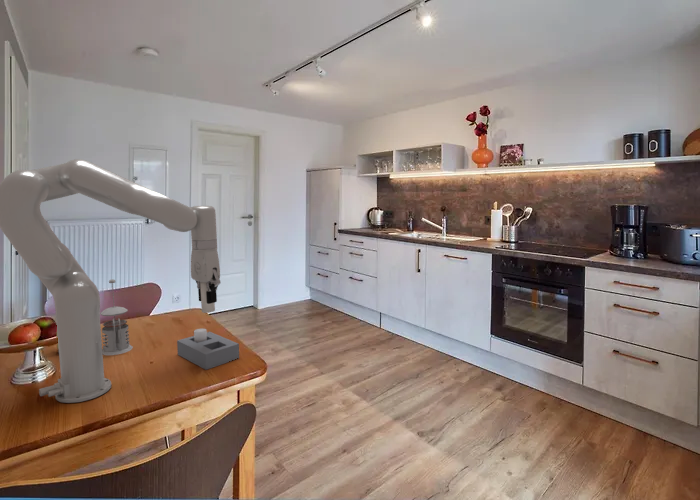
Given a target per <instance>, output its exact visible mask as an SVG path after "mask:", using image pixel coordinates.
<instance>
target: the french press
mask: <svg viewBox="0 0 700 500" xmlns="http://www.w3.org/2000/svg"><path fill="white" fill-rule="evenodd" d="M108 282H109V284H111V287H112V291H114V284H115V283H116V280H115V279H109V281H108ZM114 293H115V292H112V302H113V303H112V305H113V306H111V307H107V308H105V309H104V310H101V311H100V316H103V317H113V318H112V320H109V321H108V320H107V321H105V322H104V323H102V326H103V327H102V328H101V338H102V337H103V338H102V354H103V356H116V355H121V354H122V355H123V354H125V353H128V352H130V351H131V350H133V347H134V346H132V345H131V344H130V337H129V336H130V335H129V332H130V331H129V324H127V322H128V321H127V320H126V319H120V318H119V317H118V319H116V316H120V315H124V314H126V313H127V312H128V311H129V310H128V309H127V308H125V307H122V306H115V297H114V295H115V294H114Z"/></svg>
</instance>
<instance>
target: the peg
mask: <svg viewBox="0 0 700 500" xmlns="http://www.w3.org/2000/svg"><path fill="white" fill-rule="evenodd" d="M211 281H213V280H212V279H211ZM211 284H213V283H210V286H211ZM200 289H201V301H200V304H201V313H204V314H205V313H206V314H207V313H213V312H215V311H216V306H215V305H216V302H214V303H210V304H208V303H207V296H206V291H208V290H207V284H206V283H204V282H200Z"/></svg>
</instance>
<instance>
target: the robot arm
mask: <svg viewBox="0 0 700 500" xmlns="http://www.w3.org/2000/svg"><path fill="white" fill-rule="evenodd" d="M76 194H77V195H78V194H81V195H83V196H85V197H88V198H91V199H93V200H95V201H98V202H99V203H103V204H105V205H108V206H110V207H112V208H114V209H116V210H119V211H122V212H125V213H127V214H131V215H136V216H138V217H139V216H140V217H142V218H146V219H149V220H151V221H154V222H155V223H159V224H161V225H163V226H164V227H165V228H167V229H169V230H172V231H174V232H175V231H176V232H180V233H187V232H190V237H191V255H190V276H191V277H190V278H191V279H192V280H193V281H195V283H196V288H197V292H198V301H199V302H201V289H200V282H204V283H206V284H207V290H208V291H206V296H207V303H208V304H210V303H214V302H215V303H217V301H218V298H217V294H218V293H217V291H218V286H219V285H220V284H221V280H220V279H221V267H220V259H219V254H218V237H217V236H218V234H217V232H218V231H217V215H216V214H217V213H216V209H215V207H214V206H212V205H194V206H187V205H186V204H184V203H181V202H179V201H177V200H174V199H172V198H170V197H168V196H166V195H163V194H162V193H159V192H157V191H154V190H152V189H149V188H147V187H146V186H143V185H141V184H139V183H137V182H134V181H132V180H130V179H127V178H125V177H123V176H121V175H119V174H116V173H114V172H112V171H110V170H108V169H106V168H103V167H102V166H101V165H100V166H99V165H98V164H95V163H93V162H92V161H91V162H90V161H88V160H85V159H80V158H75V159H72V160H69V161H67V162H63V163H61V164H56V165H50V166H47V167H40V168H37V169H19V170H14V171H13V172H10V173H9V174H8V175H6V176H5V177H4V178H3V180H2V181H1V182H0V230H1V231H2V233H3V235H5V237H6V238H7V240H8V241H9V242H10V244H11V245H12V247H13V248H14V249H15V251H16V252H17V253H18V254H19V256H20V257H21V258H22V259H23V261H24V263H25V264H26V266H27V268H28V269H29V271H30V272H31V273H32V274H33V275H35V276H36V277H37V278H38V279H39V280H40V282H41V283H42V284H43V285H44V286H45V288H46V289H47V290H48V292H49V293H50V294H51V295H52V297H53V301H54V309H55V321H56V322H55V326H56V325H57V332H56V338H57V337H58V347H59V353H58V356H59V357H58V358H59V368H60V378H57V382H55V383H54V384H53V385H49V386H45V387H42V388H39V389H38V393H39V394H38V395H39V397H43V396H47V397H48V398H50V397H55V400H56V401H58V402H60V403H64V404H66V403H67V404H70V403H71V404H72V403H73V404H74V403H80V402H81V403H82V402H85V401H89V400H92V399H95V398H98V397H100V396H102V395H104V394H106V393H107V392H108V391H110V389H111V388H112V381H111V380H110V379H109V378H106V377H105V371H104V370H105V369H104V355H103V354H102V349H103V339H102V328H101V314H100V313H101V296H100V293H99V289H98V287H97V285H96V284H95V283H94V282H93V280H92V279H91V278H90V277H89V275H87V273H86V271H84V269H83V268H82V266H81V265H80V264H79V262H78V261H77V260H76V258H75V257H74V255H73V253H72V252H71V251H70V249H69V248H68V247H67V245H65V244H64V243H63V242H61V240H60V238H59V237H58V235H56V233H55V232H54V230H53V229H52V228H51V226H50V225H49V224H48V222H47V221H46V219H45V218H44V216H43V214H42V212H41V204H42V203H44V202H49V201H53V200H56V199H62V198H66V197H69V196H73V195H76ZM211 279H212V280H213V281H211ZM210 283H213V284H211V286H210Z"/></svg>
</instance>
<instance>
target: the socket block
mask: <svg viewBox="0 0 700 500" xmlns="http://www.w3.org/2000/svg"><path fill="white" fill-rule="evenodd" d="M207 330H208V329H206V328H196V329H195V330H193V336H192V335H191V336H188V337H184V338H181V339H178V340H176V344H177V345H176V348H177V356H179V357H181V358H183V359H185V360H187V361H189V362H191V363H193V364H195V365H196V366H198V367H200V368H202V369H203V370H205V371H206V370H210V369H212V368H215V367H218V366H222V365H224V364H227V363H229V361H230V362H232V360H233V361H235V359H236V360H238V359H240V343H238V342H235V341H234V340H231V339H229V338H226V337H224V336H221V335H219V334H217V333H214V332H212V331H207ZM237 358H238V359H237Z"/></svg>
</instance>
